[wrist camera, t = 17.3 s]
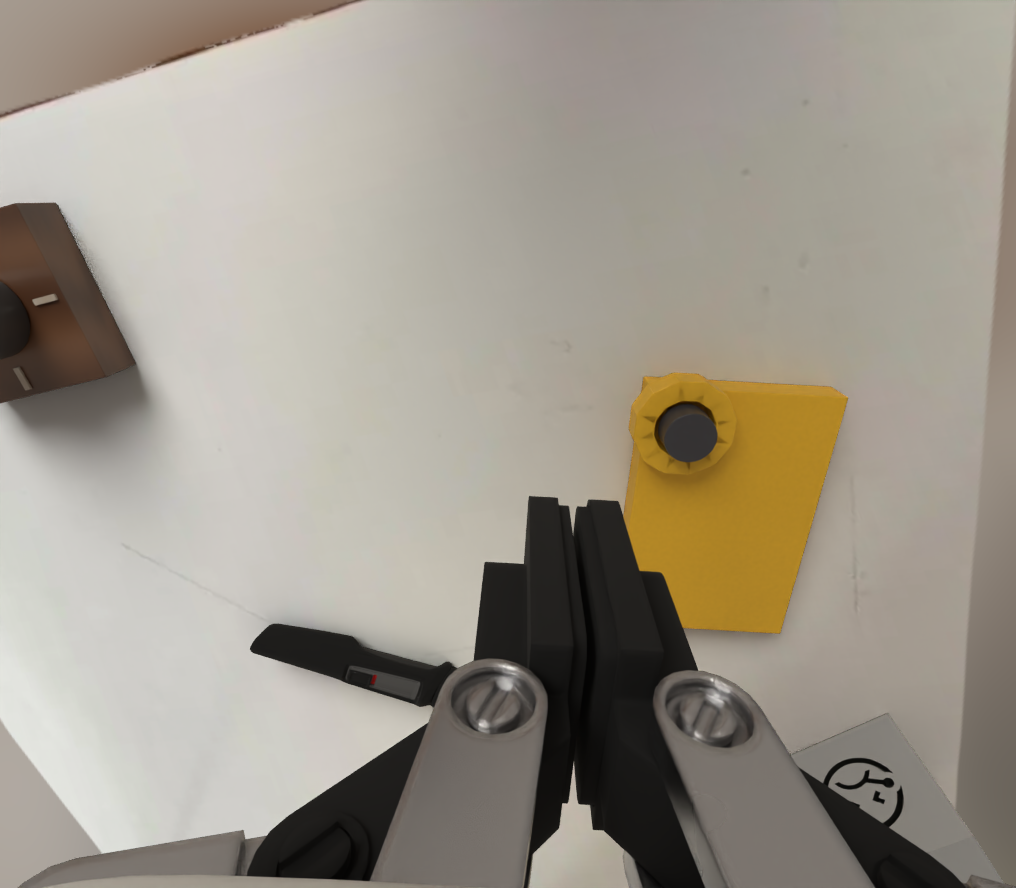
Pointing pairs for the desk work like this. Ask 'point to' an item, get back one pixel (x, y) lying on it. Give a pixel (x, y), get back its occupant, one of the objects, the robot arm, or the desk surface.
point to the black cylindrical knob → (687, 433)
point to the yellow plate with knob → (730, 496)
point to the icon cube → (896, 793)
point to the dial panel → (54, 306)
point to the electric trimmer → (353, 663)
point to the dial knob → (12, 323)
